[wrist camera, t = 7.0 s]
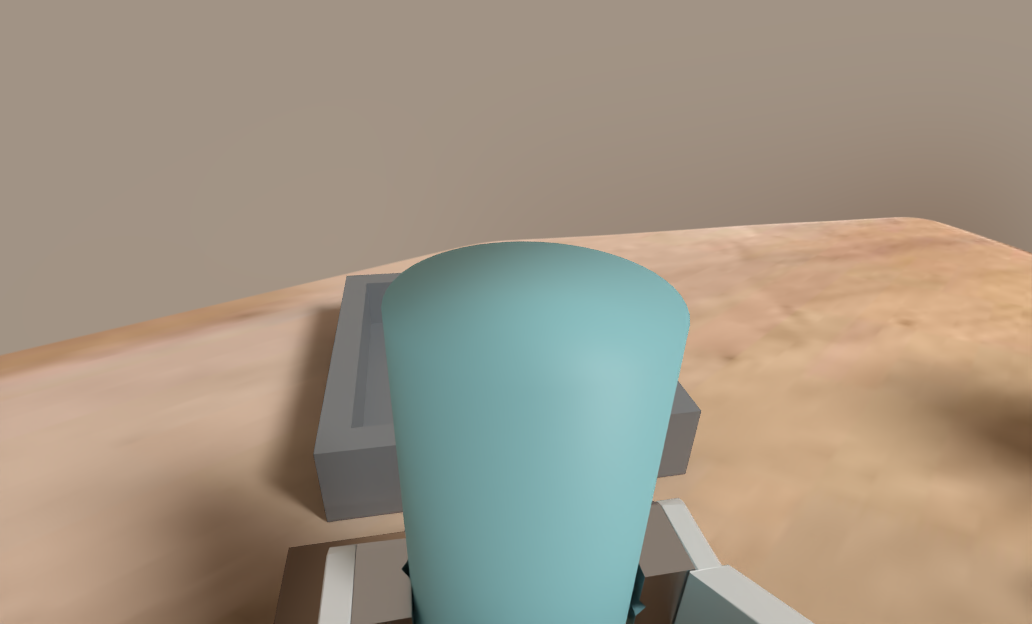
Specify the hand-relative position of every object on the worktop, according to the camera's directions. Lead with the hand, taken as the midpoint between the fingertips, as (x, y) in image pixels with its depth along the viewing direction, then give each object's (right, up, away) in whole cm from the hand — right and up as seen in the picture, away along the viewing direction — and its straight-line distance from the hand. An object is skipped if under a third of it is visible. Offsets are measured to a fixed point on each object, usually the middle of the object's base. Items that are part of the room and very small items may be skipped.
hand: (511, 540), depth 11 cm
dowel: (0, -7, +3) cm, 8 cm away
